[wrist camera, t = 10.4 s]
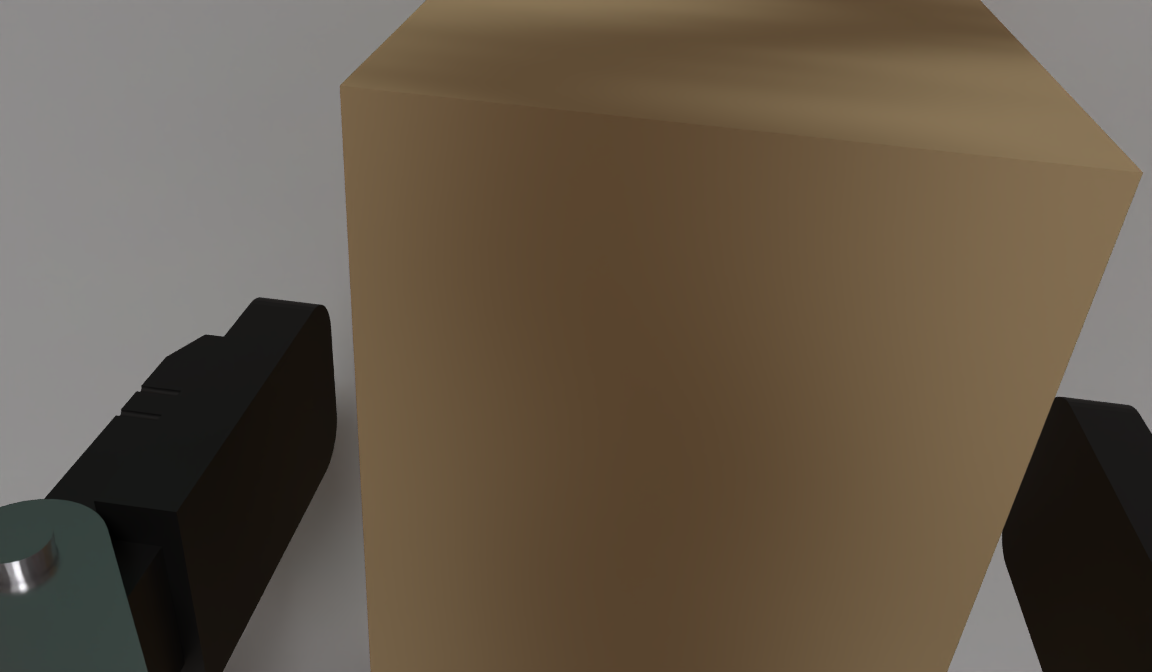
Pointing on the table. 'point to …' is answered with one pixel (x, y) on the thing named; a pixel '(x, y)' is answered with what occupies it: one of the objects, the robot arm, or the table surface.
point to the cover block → (706, 326)
